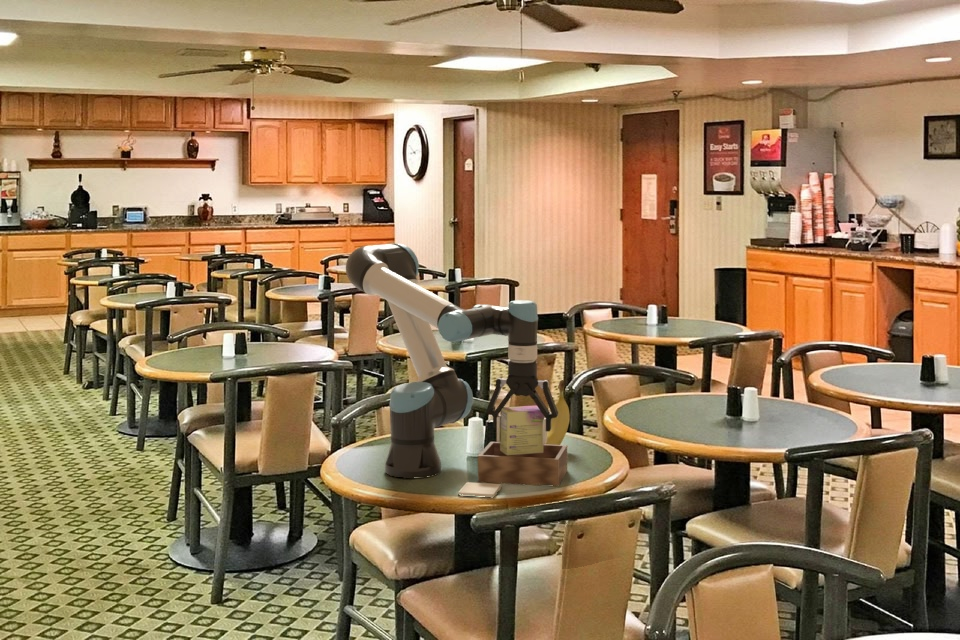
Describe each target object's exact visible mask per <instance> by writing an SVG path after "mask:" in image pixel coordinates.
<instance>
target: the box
mask: <svg viewBox="0 0 960 640" xmlns="http://www.w3.org/2000/svg"><path fill="white" fill-rule="evenodd" d="M499 415H500V451H501V452H503V453H504V454H506V455H507V456H508V455H519V454H534V453H543V450H544V444H542V439H543V419H544V418H545V417H544V415H543V414H542V412H541V411H540V409H539V408H538V406H537V405H536V404H534V405H523V406H522V405H521V406H520V405H519V406H507V407H506V406H504V407H503V408H502V410H501V411H500V413H499Z"/></svg>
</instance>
